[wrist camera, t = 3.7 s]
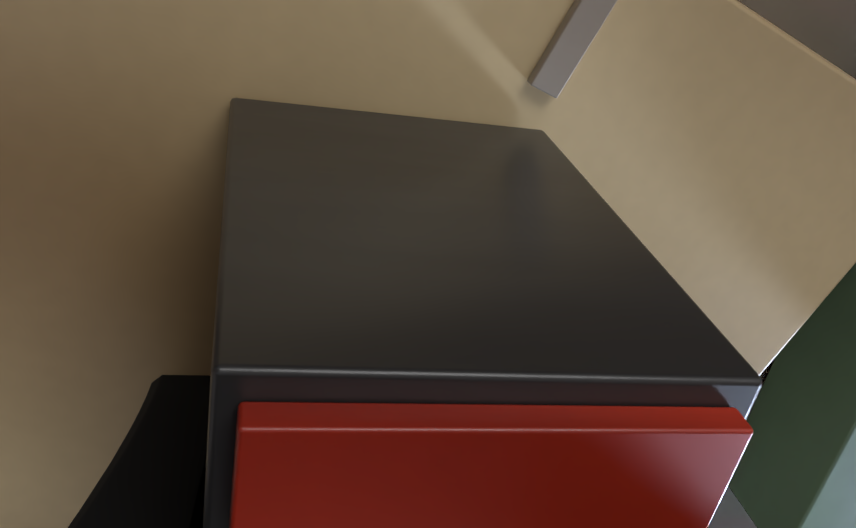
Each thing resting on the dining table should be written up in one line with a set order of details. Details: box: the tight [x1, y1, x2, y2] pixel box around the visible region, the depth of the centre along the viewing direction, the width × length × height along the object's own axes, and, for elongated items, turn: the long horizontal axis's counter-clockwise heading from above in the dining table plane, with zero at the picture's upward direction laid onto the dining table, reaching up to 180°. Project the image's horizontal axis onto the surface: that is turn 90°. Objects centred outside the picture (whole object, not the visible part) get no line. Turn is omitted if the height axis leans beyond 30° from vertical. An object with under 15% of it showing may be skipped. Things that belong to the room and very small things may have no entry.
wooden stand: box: [0, 0, 856, 528], centre depth 11 cm, size 13×12×3 cm
